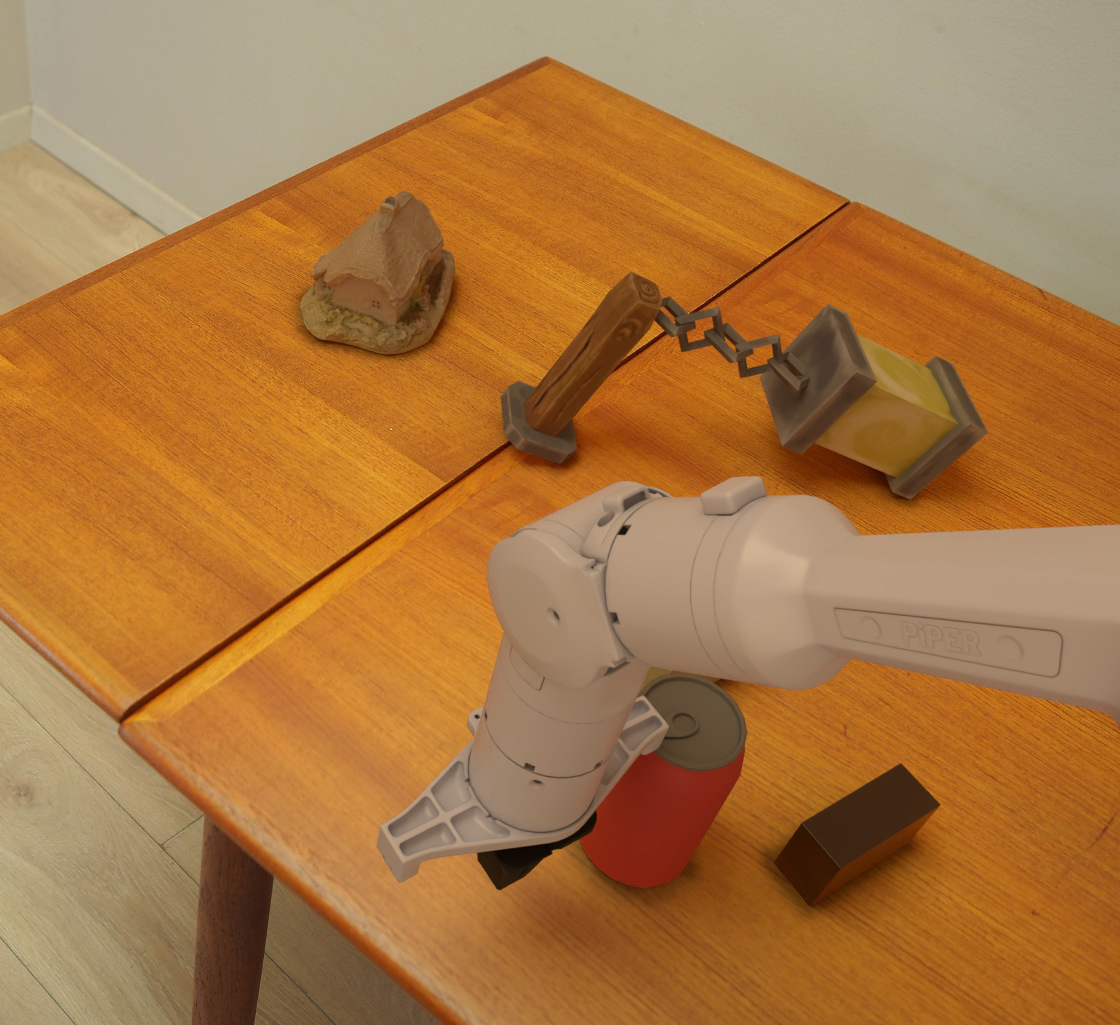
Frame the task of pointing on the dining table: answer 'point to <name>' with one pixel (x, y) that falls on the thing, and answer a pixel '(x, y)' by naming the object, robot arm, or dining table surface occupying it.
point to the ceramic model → (383, 281)
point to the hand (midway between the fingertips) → (498, 868)
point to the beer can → (671, 785)
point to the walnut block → (855, 833)
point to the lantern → (770, 388)
